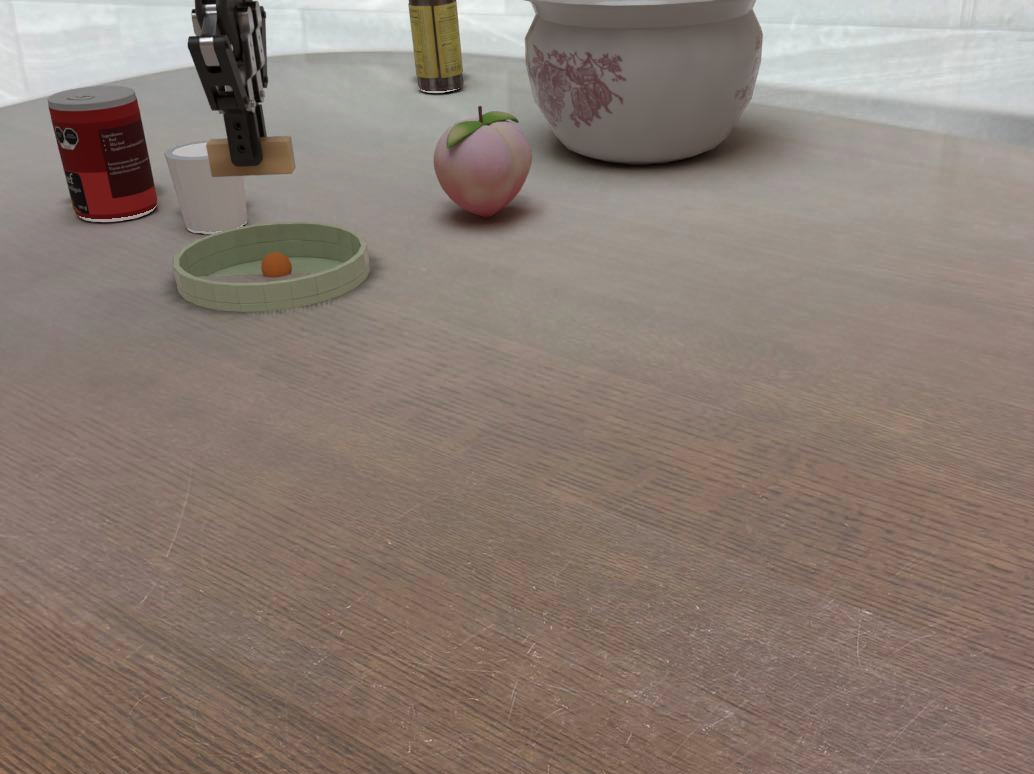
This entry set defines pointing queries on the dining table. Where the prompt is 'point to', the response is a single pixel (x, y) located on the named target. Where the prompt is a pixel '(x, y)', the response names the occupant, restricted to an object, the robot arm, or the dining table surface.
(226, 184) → the white cup
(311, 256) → the bowl
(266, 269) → the ball
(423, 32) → the sauce bottle
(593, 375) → the dining table surface
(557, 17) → the chamber pot
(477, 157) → the decorative fruit
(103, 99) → the canned food
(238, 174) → the block
